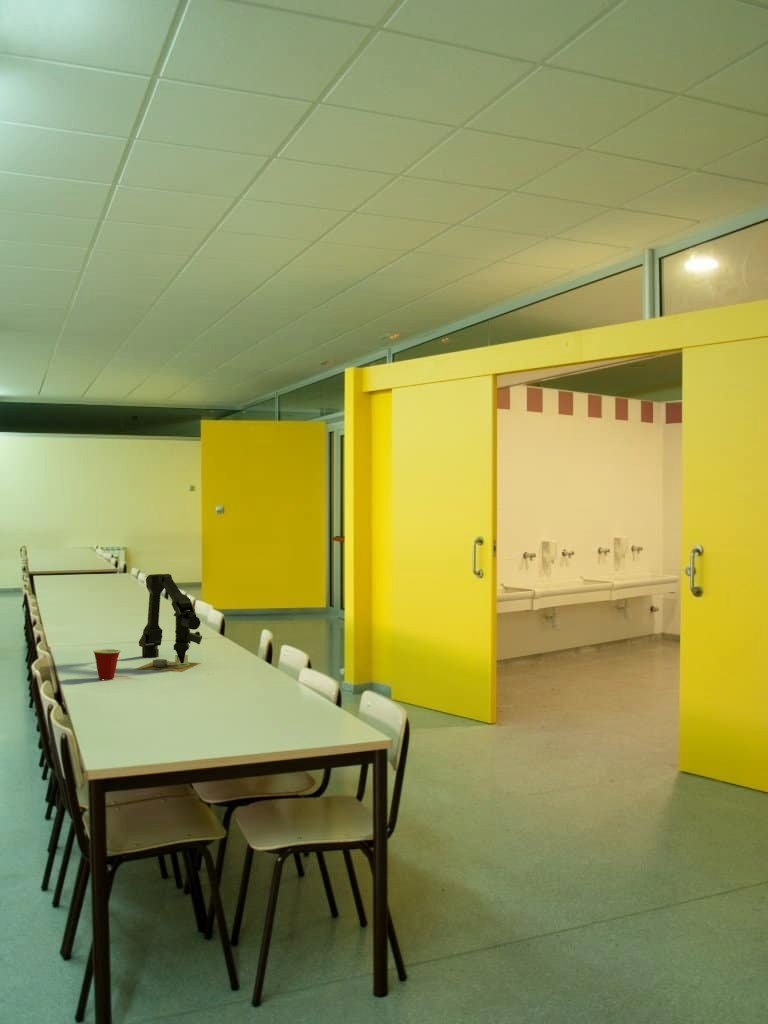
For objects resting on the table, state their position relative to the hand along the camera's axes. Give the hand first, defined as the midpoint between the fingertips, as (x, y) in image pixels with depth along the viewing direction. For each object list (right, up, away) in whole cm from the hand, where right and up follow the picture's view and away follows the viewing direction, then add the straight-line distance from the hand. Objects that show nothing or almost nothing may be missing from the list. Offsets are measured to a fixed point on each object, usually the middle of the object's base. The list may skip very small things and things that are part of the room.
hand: (182, 663), depth 374 cm
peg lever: (-5, -1, +1) cm, 6 cm away
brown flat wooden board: (-6, -3, 0) cm, 7 cm away
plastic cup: (-26, -3, -21) cm, 34 cm away
